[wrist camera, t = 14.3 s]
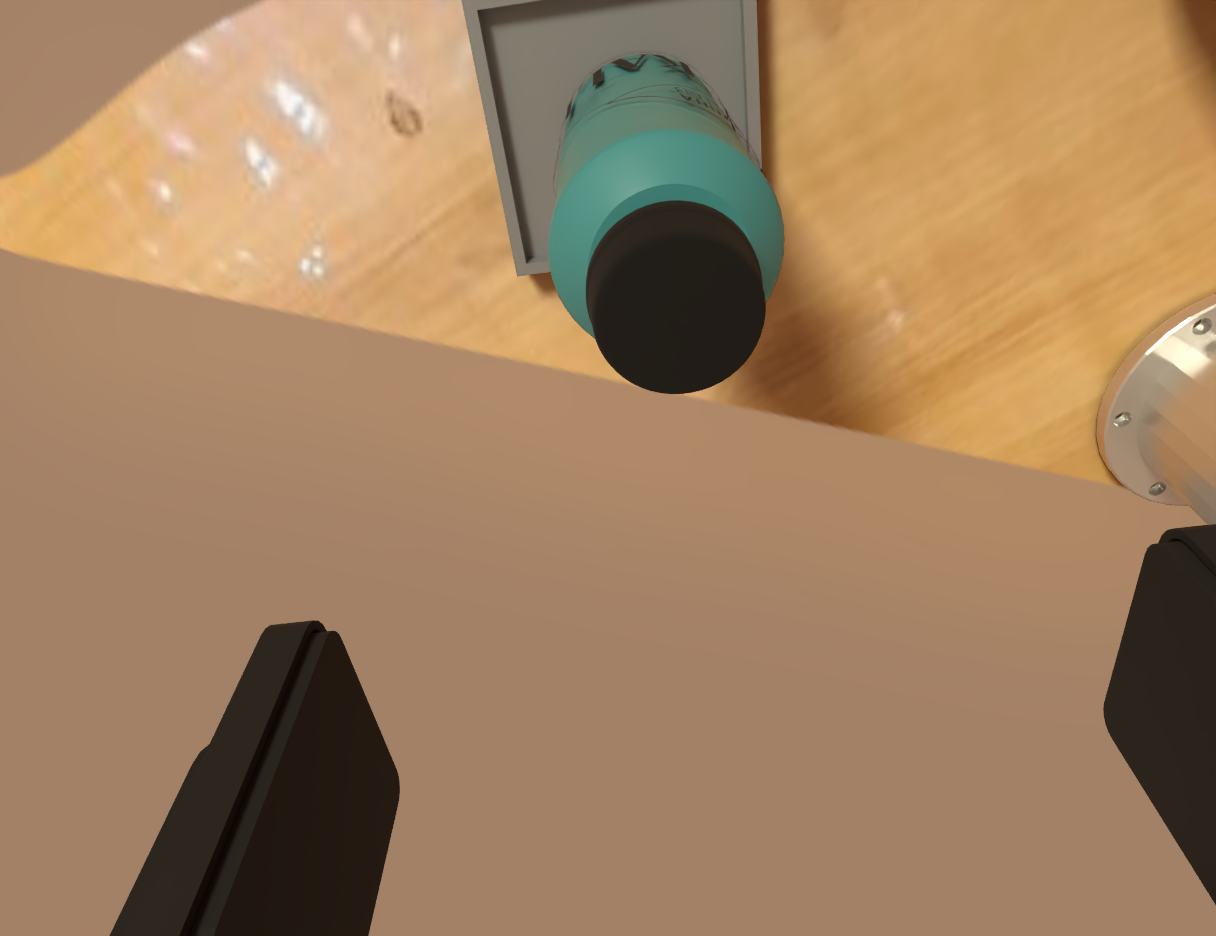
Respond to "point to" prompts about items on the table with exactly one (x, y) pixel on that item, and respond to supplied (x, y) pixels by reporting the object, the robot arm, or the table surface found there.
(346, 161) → the table surface
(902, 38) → the table surface
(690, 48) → the tray
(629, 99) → the beverage bottle
